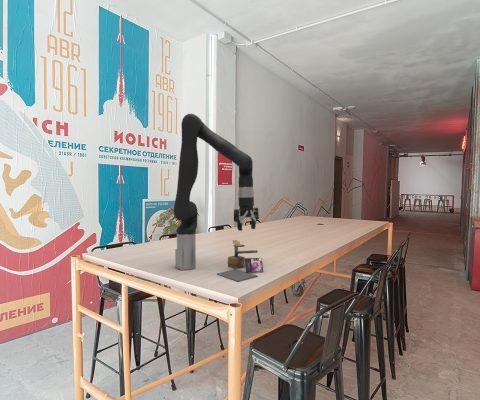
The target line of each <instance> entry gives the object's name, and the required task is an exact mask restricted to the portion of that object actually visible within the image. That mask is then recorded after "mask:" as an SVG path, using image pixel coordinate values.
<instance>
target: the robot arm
mask: <svg viewBox="0 0 480 400" xmlns="http://www.w3.org/2000/svg"><path fill="white" fill-rule="evenodd" d="M180 126H181V146H180V154H179V162H178V176H177V187H176V195H175V200H174V205H173V216H174V217H175V218H176V220H178V221H180V224H179V226H178V227H177V229H176V248H175V249H174V251H175V256H174V257H175V259H174V260H175V261H174V262H175V264H174V265H175V266H174V267H175V269H177V270H180V271H188V270H189V271H190V270H194V269H196V267H197V265H196V264H197V261H196V260H197V258H196V257H197V256H196V251H197V250H196V249H197V247H196V246H197V244H196V243H197V242H196V239H197V236H196V235H197V233H196V230H197V228H198V215H199V214H198V207H197V205H196V203H195V202H193V201H190V200H191V199H190V198H191V192H192V189H193V187H194V184H195V183H196V181H197V177H198V172H199V155H198V145H197V144H198V138H199V139H200V140H202V141H203V142H205V143H207V144H208V145H209V146H211V147H212V148H213V150H215V151H216V152H217V153H219V154H220V155H222V156H223V157H224V158H226V159H227V160H230V162H232V163H234V164H235V165H236V166H238V191H237V197H238V199H237V200H238V201H237V202H238V207H239V209H237V208H235V209H233V222H235V223H237V231H240V232H241V231H243V221H244V220H245V218H249V219H250V228H251V230H255V229H256V226H257V225H256V223H257V222H256V221H259V220H260V215H259V208H258V207H254V206H255V195H254V194H255V191H254V176H253V168H254V167H253V166H254V165H253V159H252V157H251V155H249V154H247V153H246V152H244V151H242V150H241V149H240V148H238V147H236V146H235V145H234V144H233V143H232V142H230V141H228V140H227V139H225V138H224V137H222V136H220V135H219V134H217V133H216V132H214V131H213V130H212V129H210V128H209V127H208V125H206V124H205V123H204V122H203V121H202V119H201V118H200V117H199V116H198V115H196V114H194V113H187V114H186V115H184V117H183V118H182V121H181V125H180Z"/></svg>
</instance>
